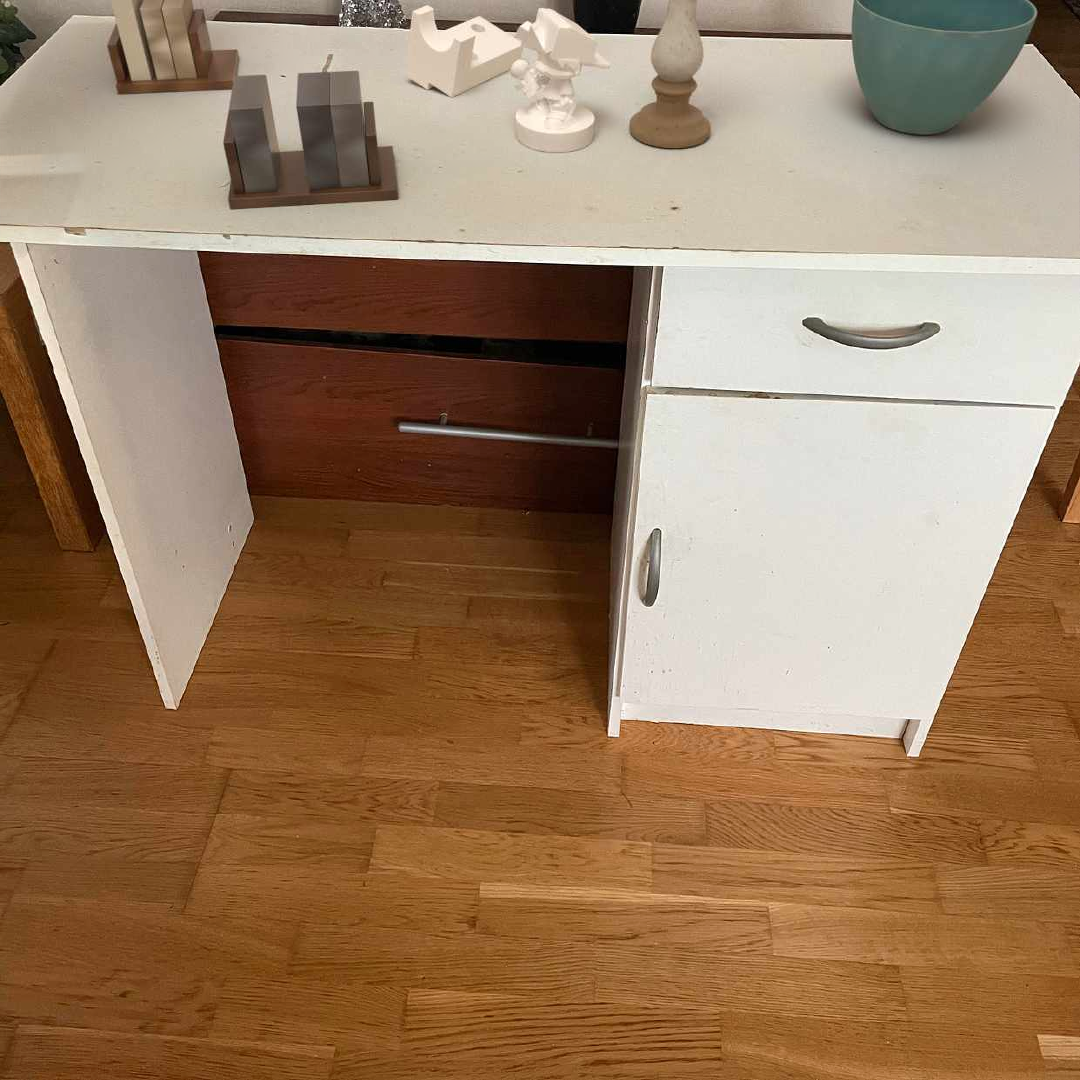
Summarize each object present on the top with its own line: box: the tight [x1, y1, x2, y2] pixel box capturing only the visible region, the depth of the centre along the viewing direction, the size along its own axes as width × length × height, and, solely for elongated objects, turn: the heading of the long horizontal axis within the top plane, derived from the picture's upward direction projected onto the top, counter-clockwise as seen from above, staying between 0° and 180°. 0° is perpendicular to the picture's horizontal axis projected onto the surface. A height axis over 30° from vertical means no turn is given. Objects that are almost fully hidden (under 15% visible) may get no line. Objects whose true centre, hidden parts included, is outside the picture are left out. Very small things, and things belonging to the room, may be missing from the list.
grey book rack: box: [222, 70, 399, 210], centre depth 98 cm, size 16×10×9 cm, turn 99°
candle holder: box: [628, 0, 712, 149], centre depth 103 cm, size 9×9×20 cm
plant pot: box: [851, 0, 1038, 136], centre depth 109 cm, size 18×18×12 cm
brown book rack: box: [106, 0, 240, 95], centre depth 117 cm, size 13×10×9 cm
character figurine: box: [510, 7, 611, 153], centre depth 105 cm, size 9×10×12 cm
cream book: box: [110, 0, 155, 81], centre depth 114 cm, size 2×8×14 cm, turn 9°
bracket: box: [404, 4, 524, 98], centre depth 119 cm, size 13×7×8 cm, turn 144°
